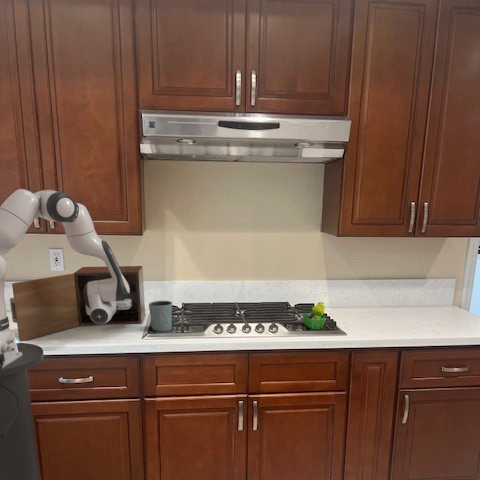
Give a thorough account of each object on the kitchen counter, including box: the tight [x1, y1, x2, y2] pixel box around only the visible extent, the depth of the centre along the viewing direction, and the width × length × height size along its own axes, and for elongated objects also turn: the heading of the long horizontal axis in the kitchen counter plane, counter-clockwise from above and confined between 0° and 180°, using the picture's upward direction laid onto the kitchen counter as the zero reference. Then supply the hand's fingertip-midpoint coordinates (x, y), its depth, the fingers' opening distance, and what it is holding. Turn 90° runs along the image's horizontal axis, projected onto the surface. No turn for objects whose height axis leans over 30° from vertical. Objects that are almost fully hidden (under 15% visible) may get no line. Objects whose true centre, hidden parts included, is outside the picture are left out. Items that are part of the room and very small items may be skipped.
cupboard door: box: [9, 273, 80, 343], centre depth 200 cm, size 7×28×24 cm, turn 146°
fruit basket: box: [301, 301, 327, 331], centre depth 210 cm, size 11×9×11 cm
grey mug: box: [148, 300, 173, 333], centre depth 206 cm, size 10×10×12 cm
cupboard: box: [73, 265, 146, 327], centre depth 220 cm, size 18×28×24 cm, turn 96°
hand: (111, 300), depth 218 cm, fingers closed on cup, 7 cm apart
